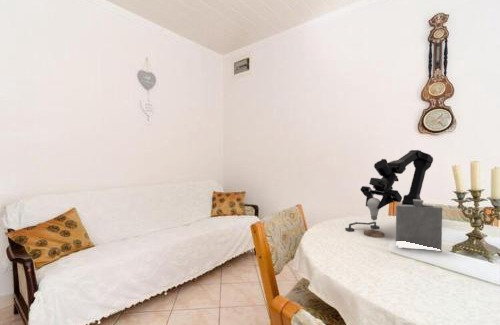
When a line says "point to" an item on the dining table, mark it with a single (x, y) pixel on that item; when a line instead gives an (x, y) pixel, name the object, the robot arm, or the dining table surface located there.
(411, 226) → the hip flask
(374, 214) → the lightbulb
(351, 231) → the grey metal bracket
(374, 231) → the walnut coaster
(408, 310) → the dining table surface
